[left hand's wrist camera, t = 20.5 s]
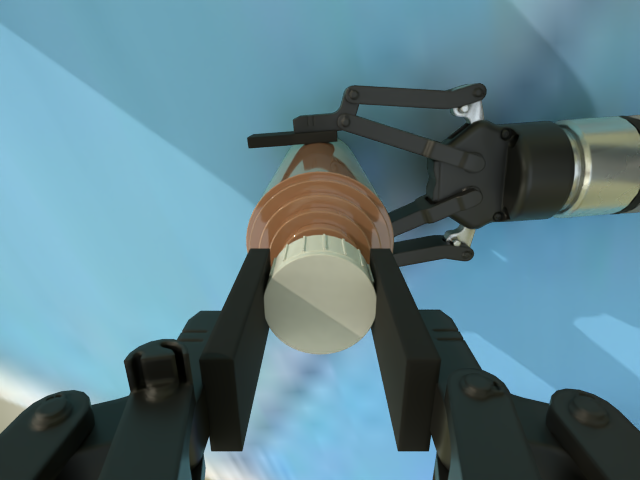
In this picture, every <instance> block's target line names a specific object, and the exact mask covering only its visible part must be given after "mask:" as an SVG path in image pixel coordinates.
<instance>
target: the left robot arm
mask: <svg viewBox="0 0 640 480" xmlns="http://www.w3.org/2000/svg"><path fill="white" fill-rule="evenodd" d="M369 265H370V268H371V272H372V275H373V279H374V283H373V285H374V288H375V292H376V313H375V319H374V322H373V324H372V326H371V330H372V335H373V339H374V344H375V349H376V353H377V358H378V362H379V367H380V371H381V376H382V381H383V385H384V390H385V394H386V399H387V403H388V408H389V412H390V417H391V422H392V426H393V431H394V435H395V440H396V444H397V449H398V451H429V447H430V439H431V435H432V438H433V441H434V444H435V447H436V450H437V453H436V460H435V467H434V474H433V480H640V431H639V430H638V429H637V428H636V427H635V426H634V425H633V424H632V423H631V422H630V421H629V420H628V419H627V418H626V417H625V416H624V415H623V414H622V413H621V412H620V411H619V410H617V409H616V408H615V407H614V406H612V405H611V404H610V403H609V402H607V401H605V400H603V399H602V398H600V397H598V396H596V395H594V394H591V393H588V392H585V391H581V390H576V389H562V390H558V391H556V392H555V393H554V394H553V395H552V396H551V400H550V403H549V404H548V403H544V402H540V401H535V400H531V399H526V398H522V397H519V396H516V395H513V394H511V393H510V392H509V390H508V388H507V387H506V385H505V384H504V383H503V382H502V381H501V380H500V379H498V378H497V377H496V376H494V375H492V374H490V373H488V372H486V371H484V370H482V369H481V367H480V365H479V364H478V362H477V360H476V359H475V357H474V355H473V354H472V352H471V350H470V349H469V347H468V345H467V344H466V342H465V340H463V337H462V335H461V333H460V332H459V331H458V328H457V327H456V325H455V323H454V322H453V320H452V319H451V318H450V317H449V316H447V315H446V314H445V313H443V312H442V311H441V310H418V308H417V306H416V304H415V301H414V299H413V297H412V295H411V293H410V291H409V288H408V286H407V284H406V282H405V280H404V278H403V275H402V273H401V271H400V269H399V267H398V265H397V262H396V260H395V258H394V256H393V254H392V251H391V249H390V248H370V264H369ZM270 270H271V258H270V248H250V250H249V252H248V254H247V256H246V259H245V261H244V263H243V265H242V267H241V269H240V272H239V274H238V276H237V278H236V280H235V282H234V285H233V287H232V289H231V291H230V293H229V295H228V298H227V300H226V302H225V304H224V306H223V309H222V311H200V312H198V313H197V314H196V315H195V316H193V317H192V318H191V319H189V320H188V322H187V324H186V325H185V327H184V329H183V330H182V333H181V334H180V335H179V337H178V339H177V340H175V339H161V340H156V341H151V342H149V343H146V344H144V345H141V346H139V347H138V348H136V349H135V350H133V351H132V352H131V353H129V355H128V356H127V357H126V359H125V360H124V364H125V369H126V373H127V378H128V382H129V387H130V391H131V392H130V395H129V396H126V397H123V398H120V399H116V400H112V401H107V402H103V403H99V404H94V405H91V402H90V399H89V397H88V396H87V395H86V394H85V393H84V392H81V391H76V390H70V391H61V392H58V393H55V394H52V395H48V396H46V397H44V398H42V399H40V400H39V401H37V402H35V403H33V404H32V405H31V406H29V407H28V408H27V409H26V410H24V411H23V412H22V413H21V414H20V415H19V416H18V417H17V418H16V419H15V420H14V421H13V422H12V423H11V424H10V425H9V426H8V427H7V428H6V429H5V430H4V431H3V432H2V433H1V434H0V480H205V469H206V467H205V460H204V450H205V447H206V444H207V441H208V438H209V437H210V445H211V451H242V450H243V446H244V441H245V436H246V432H247V427H248V423H249V418H250V414H251V409H252V404H253V400H254V395H255V391H256V386H257V382H258V377H259V373H260V368H261V363H262V359H263V354H264V350H265V345H266V341H267V336H268V331H269V325H268V323H267V321H266V319H265V309H264V292H265V289H266V285H267V282H268V278H269V274H270Z"/></svg>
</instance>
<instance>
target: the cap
mask: <svg viewBox="0 0 640 480" xmlns="http://www.w3.org/2000/svg"><path fill="white" fill-rule="evenodd" d="M373 283H374V279H373V275H372V272H371V268H370V265H369V264H367V262H366V260H365V259H364V257H363V256H362V254H361V252H360V250H359V249H358V250H357V249H356V248H355V247H354V246H353V245H351V244H350V243H348V242H346V241H345V239H343V238H342V239H340V238H337V237H333V236H328V235H325V234H323V235H312V236H307V237H306V236H303V238H300V239H298V240H296V241H294V242H292V243H291V244H289V245H288V244H287V245H286V247H285V248H284V249H283V250H282V251H281V252H280V253H279V255H278V256H277V257H276V258H274V260H273V263H272V267H271V270H270V274H269V278H268V282H267V285H266V289H265V292H264V309H265V319H266V321H267V323H268V325H269V327H270V329H271V330H272V332H273V333H274V334H275V335H276V336H277V337H278V338H279V339H280V340H281V341H282V342H284V343H285V344H286V345H288V346H290V347H292V348H294V349H296V350H298V351H302V352H305V353H311V354H329V353H335V352H339V351H342V350H344V349H347V348H349V347H351V346H352V345H354V344H355V343H357V342H358V341H359V340H360V339H362V338H363V337H364V336H365V334H366V333H367V332H368V331H369V329H370V328H371V326H372V324H373V322H374V319H375V313H376V292H375V288H374V285H373Z"/></svg>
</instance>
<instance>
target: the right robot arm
mask: <svg viewBox="0 0 640 480" xmlns="http://www.w3.org/2000/svg"><path fill="white" fill-rule="evenodd" d="M485 95H486V87H485V86H484V85H483V84H481V83H477V84H466V85H462V86H459V87H455V88H452V89H449V90H446V91H441V90H424V89H407V88H390V87H373V86H356V85H354V86H350V87H348V88H346V89H345V91H344V94H343V98H342V102H341V105H340V108H339V109H338V110H337V111H336V112H334V113H328V114H315V115H302V116H299V117H297V118H295V119H293V126H294V131H291V132H278V133H264V134H253V135H251V136H249V137H248V138H247V140H248V147H249V148H260V147H273V146H287V145H300V144H313V143H327V142H338V141H337V131H342V130H343V131H346V132H350V133H353V134H356V135H359V136H362V137H365V138H369V139H372V140H375V141H378V142H381V143H384V144H388V145H391V146H394V147H397V148H400V149H404V150H407V151H410V152H413V153H416V154H419V155H422V156H425V157H427V169H428V173H429V179H428V183H427V186H426V195H424V196H421V197H419V198H417V199H416V200H415V201H414V202H412V203H410V204H408V205H406V206H403V207H401V208H399V209H397V210H394V211H392V212H390V213H388V215H389V217H390V220H391V223H392V227H393V234H394V237H395V236H397V235H400V234H402V233H404V232H407V231H409V230H411V229H414V228H416V227H418V226H421V225H423V224H426V223H434V222H437V221H439V220H441V219H444V218H446V217H450V218H452V219H453V220H455V221H456V222H458V223H459V224H460V225H459V227H458V228H457V229H455V230H449V231H446V232H445V234H444V235H433V236H426V237H421V238H416V239H410V240H405V241H400V242H394V246H393V253H392V254H393V256H394V258H395V260H396V262H397V265H398V267H401V266H406V265H412V264H417V263H423V262H428V261H434V260H439V259H444V258H445V259H452V260H459V261H469V260H471V259H472V258H473V256H474V252H473V250H472V249H471V248H470V245H471V242H472V239H473V236H474V233H475V229H479V228H481V227H483V226H484V225H486V224H489V223H492V222H509V221H523V220H538V219H548V218H550V217H555V218H569V217H581V216H593V215H605V214H620V213H638V212H640V115H633V116H612V117H598V118H583V119H569V120H559V121H556V122H554V123H553V122H551V121H539V122H526V123H513V124H499V125H496V124H493V123H491V122H489V121H487V120H484V114H483V108H482V101H481V100H482V99H483V98H484V97H485ZM359 104H365V105H383V106H400V107H418V108H435V109H449V110H450V113H451V114H452V115H453V116H457V117H463V118H465V120H466V124H464V125H463V126H462V127H461V128H459V129H458V130H457V131H456V132H454V133H453V134H452V135H450V136H449V137H448V138H447V139H445V140H444V141H443V142H442V143H440V142H437V141H434V140H431V139H428V138H425V137H421V136H418V135H415V134H412V133H409V132H406V131H403V130H399V129H396V128H393V127H390V126H387V125H384V124H381V123H378V122H375V121H371V120H368V119H365V118H362V117H359V116H356V113H357V110H358V107H359Z"/></svg>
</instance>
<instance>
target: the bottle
mask: <svg viewBox="0 0 640 480" xmlns="http://www.w3.org/2000/svg"><path fill="white" fill-rule="evenodd" d="M337 141H338V142H327V143H313V144H300V145H293V146H292V147H291V148H290V149H289V151H288V152H287V154H286V156H285V158H284V159H283V161H282V163H281V164H280V166H279V168H278V169H277V171H276V173H275V175H274V176H273V178H272V180H271V181H270V183H269V185H268V187H267V188H266V190H265V192H264V193H263V195H262V197H261V199H260V200H259V202H258V204H257V205H256V207H255V209H254V211H253V213H252V215H251V218H250V220H249V224H248V228H247V236H246V245H247V252H249V250H250V248H270V258H271V267H272V263H273V260H274V258H276V257H277V256H278V255H279V253H280V252H281V251H282V250H283V249H284V248H285V247H286V245H287V244H288V245H289V244H291V243H292V242H294V241H296V240H298V239H300V238H303V236H306V237H307V236H312V235H323V234H325V235H328V236H333V237H337V238H340V239H342V238H343V239H345V241H346V242H348V243H350V244H351V245H353V246H354V247H355V248H356V249H357V250H358V249H359V250H360V252H361V254H362V256H363V257H364V259H365V260H366V262H367V264H370V248H390V249H391V251H392V253H393V246H394V234H393V227H392V223H391V220H390V217H389V215H388V213H387V210H386V208H385V207H384V205H383V203H382V202H381V200H380V198H379V196H378V195H377V193H376V191H375V190H374V188H373V186H372V185H371V183H370V181H369V179H368V178H367V176H366V174H365V173H364V171H363V169H362V168H361V166H360V164H359V162H358V161H357V159H356V157H355V156H354V154H353V152H352V151H351V149H350V148H349V147H348V146H347V145H346V144H345V143H344V142H343V141H341V140H340V139H338V138H337Z"/></svg>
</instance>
